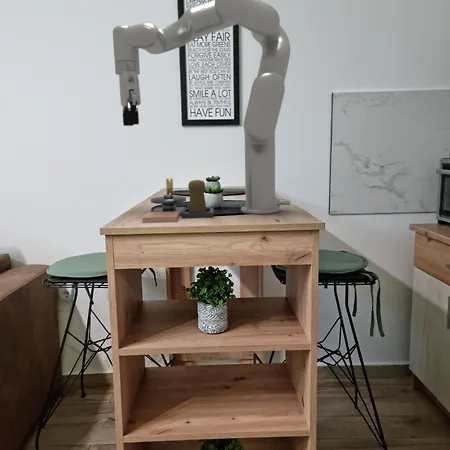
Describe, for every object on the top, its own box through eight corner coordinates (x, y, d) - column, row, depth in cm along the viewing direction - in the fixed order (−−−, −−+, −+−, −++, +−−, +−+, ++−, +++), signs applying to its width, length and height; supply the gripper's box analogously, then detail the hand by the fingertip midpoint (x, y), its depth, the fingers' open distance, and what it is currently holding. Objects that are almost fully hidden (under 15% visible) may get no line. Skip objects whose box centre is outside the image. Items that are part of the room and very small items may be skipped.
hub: (185, 208, 158) (184, 200, 158) (183, 213, 149) (182, 204, 148) (156, 209, 158) (155, 200, 158) (152, 214, 149) (151, 205, 148)
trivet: (180, 216, 143) (179, 211, 143) (177, 221, 133) (176, 216, 133) (147, 217, 143) (147, 212, 143) (142, 222, 133) (142, 217, 133)
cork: (204, 217, 140) (203, 181, 138) (185, 217, 141) (184, 181, 139) (209, 214, 146) (208, 179, 144) (191, 213, 147) (189, 179, 145)
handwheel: (187, 198, 159) (186, 178, 158) (184, 203, 147) (184, 181, 146) (153, 199, 159) (152, 179, 158) (148, 204, 147) (147, 182, 146)
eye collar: (213, 212, 149) (213, 207, 148) (213, 217, 139) (212, 212, 139) (183, 213, 148) (183, 208, 148) (181, 218, 139) (181, 213, 139)
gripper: (144, 64, 137) (148, 123, 140) (134, 73, 153) (137, 125, 156) (119, 64, 134) (123, 124, 137) (111, 72, 150) (115, 126, 153)
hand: (131, 125), depth 147 cm, fingers open, 9 cm apart
